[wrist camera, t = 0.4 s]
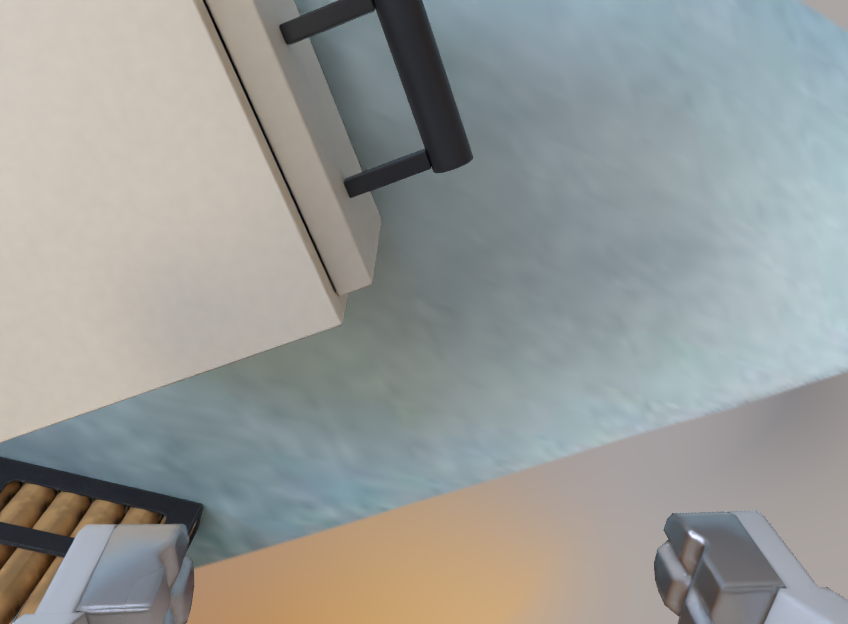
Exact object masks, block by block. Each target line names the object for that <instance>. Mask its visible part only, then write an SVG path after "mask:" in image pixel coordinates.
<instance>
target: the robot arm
mask: <svg viewBox="0 0 848 624" xmlns="http://www.w3.org/2000/svg"><path fill="white" fill-rule="evenodd" d="M664 532H665V534H666V535H667V537H668V540H667V541H666V542H665V543H664V544H663V545H662V546H660V547H659V548H658V550H657V554H656V558H655V561H654V570H655V581H656V584H657V588H658V591H659V594H660V596H661V598H662V600H663V602H664V604H665V606H666V607H668V608H669V609H670V610H671V611H673V612H674V613H675V614H677V615H678V616H679V620H678V624H848V600H847V599H845V598H844V597H842V596H840V595H839V594H837V593H836V592H834V591H833V590H831V589H829V588H828V587H818V586H817V584H816V583H815V582H814V580H813V579H812V578H811V576H810V575H809V574H808V573H807V571H806V570H805V569H804V567H803V566H802V565H801V563H800V562H799V561H798V560H797V558H796V557H795V556H794V554H793V553H792V552H791V550H790V549H789V548H788V547H787V545H786V544H785V543H784V541H783V540H782V539H781V537H780V536H779V535H778V534H777V532H776V531H775V529H774V528H773V527H772V526H771V524H770V523H769V522H768V520H767V519H766V518H765V517H764V516H763V515H762V514H761V513H759V512H757V511H733V512H700V513H672V514H671V516H670V517H669V518H668V519H667V521H666V524H665V527H664ZM188 543H189V537H188V532H187V527H186V526H185V525H183V524H119V525H118V524H87V525H85V526H84V527H83V528H82V529H81V530H80V531H79V532H78V533H77V535H76V537H75V539H74V541H73V543H72V545H71V546H70V548H69V550H68V552H67V554H66V556H65V558H64V559H63V561H62V563H61V565H60V567H59V569H58V571H57V573H56V574H55V576H54V578H53V580H52V582H51V584H50V586H49V587H48V589H47V591H46V593H45V595H44V597H43V599H42V601H41V602H40V604H39V606H38V608H37V610H36V612H35V614H24V615H22V616H21V617H20V618H18V619H17V620H16V621H14V622H13V623H12V624H186V623H187V620H188V617H189V613H190V609H191V605H192V598H193V591H194V569H193V562H192V560H191V559H190V558H188V557H187V556H186V555H185V553H186V550H187V547H188Z"/></svg>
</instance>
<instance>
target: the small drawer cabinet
mask: <svg viewBox="0 0 848 624" xmlns="http://www.w3.org/2000/svg"><path fill="white" fill-rule="evenodd" d="M204 4H207V3H206V1H205V0H0V443H1V442H4V441H7V440H10V439H13V438H16V437H18V436H21V435H24V434H27V433H30V432H33V431H36V430H39V429H42V428H44V427H47V426H50V425H53V424H56V423H59V422H62V421H65V420H68V419H71V418H73V417H76V416H79V415H82V414H85V413H88V412H91V411H94V410H97V409H100V408H102V407H105V406H108V405H111V404H114V403H117V402H120V401H123V400H126V399H128V398H131V397H134V396H137V395H140V394H143V393H146V392H149V391H152V390H155V389H157V388H160V387H163V386H166V385H169V384H172V383H175V382H178V381H181V380H184V379H186V378H189V377H192V376H195V375H198V374H201V373H204V372H207V371H210V370H212V369H215V368H218V367H221V366H224V365H227V364H230V363H233V362H236V361H239V360H241V359H244V358H247V357H250V356H253V355H256V354H259V353H262V352H265V351H268V350H270V349H273V348H276V347H279V346H282V345H285V344H288V343H291V342H294V341H296V340H299V339H302V338H305V337H308V336H311V335H314V334H317V333H320V332H323V331H325V330H328V329H331V328H334V327H337V326H340V325H342V323H343V319H344V314H345V310H346V305H347V301H348V297H349V293H347V294H344V295H342V296H339V295H338V294H337V292H336V290H335V288H334V285H333V283H332V281H331V279H330V276H329V274H328V272H327V270H326V268H325V265H324V263H323V261H322V259H321V256H320V254H319V252H318V250H317V248H316V245H315V243H314V242H313V244H312V242H311V239H310V237H309V235H308V233H307V231H306V228H305V226H304V224H303V222H302V219H301V217H300V215H299V213H298V211H297V208H296V206H295V204H294V202H293V199H292V197H291V195H290V193H289V191H288V188H287V186H286V184H285V182H284V180H283V177H282V175H281V173H280V171H279V168H278V166H277V164H276V162H275V160H274V157H273V155H272V153H271V151H270V149H269V146H268V144H267V142H266V140H265V137H264V135H263V133H262V131H261V129H260V126H259V124H258V122H257V120H256V118H255V115H254V113H253V111H252V109H251V106H250V104H249V102H248V100H247V98H246V95H245V93H244V91H243V89H242V87H241V84H240V82H239V80H238V78H237V75H236V73H235V71H234V69H233V67H232V64H231V62H230V60H229V58H228V56H227V53H226V51H225V49H224V47H223V44H222V42H221V40H220V38H219V36H218V33H217V31H216V29H215V27H214V25H213V22H212V20H211V18H210V16H209V13H208V11H207V9H206V7H205V5H204Z"/></svg>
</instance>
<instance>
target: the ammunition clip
mask: <svg viewBox="0 0 848 624" xmlns="http://www.w3.org/2000/svg"><path fill="white" fill-rule="evenodd" d="M202 509H203V506H202V504H199V503H195V502H191V501H186V500H182V499H178V498H174V497H169V496H165V495H161V494H156V493H152V492H148V491H144V490H139V489H135V488H131V487H126V486H122V485H118V484H114V483H109V482H105V481H101V480H97V479H92V478H88V477H84V476H79V475H75V474H71V473H67V472H62V471H58V470H54V469H49V468H45V467H41V466H37V465H32V464H28V463H24V462H20V461H15V460H11V459H7V458H2V457H0V624H9V623H10V622H11V621H12V620H13V618H14V617H15V616H16V615H17V613H18V612H19V610H20V609H21V608H22V609H21V611H20V613H19V615H18V617H17V619H18V618H20V617H21V616H22V615H24V614H35V612H36V610H37V608H38V606H39V604H40V602H41V601H42V599H43V597H44V595H45V593H46V591H47V589H48V587H49V586H50V584H51V582H52V580H53V578H54V576H55V574H56V573H57V571H58V569H59V567H60V565H61V563H62V561H63V559H64V558H65V556H66V554H67V552H68V550H69V548H70V546H71V545H72V543H73V541H74V539H75V537H76V535H77V533H78V532H79V531H80V530H81V529H82V528H83V527H84V526H85V525H87V524H118V525H119V524H183V525H185V526H186V527H187V532H188V537H189V543H188V547H187V550H188V548H189V546H190V544H191V542H192V540H193V538H194V536H195V534H196V532H197V530H198V526H199V522H200V517H201V513H202ZM187 550H186V552H187ZM185 554H186V553H185ZM39 581H40V582H39ZM37 584H38V585H37ZM35 587H36V588H35ZM33 590H34V591H33ZM31 593H32V594H31ZM30 594H31V595H30ZM29 596H30V597H29ZM28 597H29V598H28ZM27 599H28V600H27ZM26 600H27V601H26ZM25 602H26V603H25ZM24 603H25V604H24ZM23 605H24V606H23ZM22 606H23V607H22Z"/></svg>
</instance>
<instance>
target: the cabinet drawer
mask: <svg viewBox="0 0 848 624" xmlns="http://www.w3.org/2000/svg"><path fill="white" fill-rule="evenodd" d="M205 1H206V3H207V4H204V5H205V7H206V9H207V11H208V13H209V16H210V18H211V20H212V22H213V25H214V27H215V29H216V31H217V33H218V36H219V38H220V40H221V42H222V44H223V47H224V49H225V51H226V53H227V56H228V58H229V60H230V62H231V64H232V67H233V69H234V71H235V73H236V75H237V78H238V80H239V82H240V84H241V87H242V89H243V91H244V93H245V95H246V98H247V100H248V102H249V104H250V106H251V109H252V111H253V113H254V115H255V118H256V120H257V122H258V124H259V126H260V129H261V131H262V133H263V135H264V137H265V140H266V142H267V144H268V146H269V149H270V151H271V153H272V155H273V157H274V160H275V162H276V164H277V166H278V168H279V171H280V173H281V175H282V177H283V180H284V182H285V184H286V186H287V188H288V191H289V193H290V195H291V197H292V199H293V202H294V204H295V206H296V208H297V211H298V213H299V215H300V217H301V219H302V222H303V224H304V226H305V228H306V231H307V233H308V235H309V237H310V239H311V242H312V244H313V242H314V243H315V245H316V248H317V250H318V252H319V254H320V256H321V259H322V261H323V263H324V265H325V268H326V270H327V272H328V274H329V276H330V279H331V281H332V283H333V285H334V288H335V290H336V292H337V294H338V295H339V296H342V295H344V294H347V293H350V292H353V291H356V290H359V289H362V288H364V287H367V286H370V285H372V284H373V277H374V270H375V263H376V256H377V249H378V242H379V235H380V228H381V221H382V219H381V217H380V214H379V212H378V209H377V207H376V204H375V202H374V199H373V197H372V194H371V192H370V191H372V190H375V189H377V188H380V187H383V186H385V185H388V184H391V183H393V182H396V181H399V180H402V179H404V178H407V177H410V176H412V175H415V174H418V173H421V172H423V171H426V170H429V169H431V167H432V170H433V172H434V173H442V172H447V171H450V170H453V169H456V168H458V167H461V166H463V165H465V164H467V163H468V162H470V161H471V160H472V159H473V155H472V152H471V149H470V146H469V143H468V140H467V136H466V133H465V130H464V127H463V124H462V121H461V118H460V115H459V112H458V109H457V106H456V103H455V100H454V97H453V93H452V90H451V87H450V84H449V81H448V78H447V75H446V72H445V69H444V66H443V63H442V60H441V57H440V54H439V50H438V47H437V44H436V41H435V38H434V35H433V32H432V29H431V26H430V23H429V20H428V17H427V14H426V11H425V7H424V4H423V1H422V0H339V1H336V2H334V3H331V4H329V5H326V6H324V7H321V8H319V9H316V10H314V11H312V12H309V13H307V14H304V15H302V16H300V14H299V11H298V9H297V6H296V4H295V1H294V0H205ZM375 8H376V11H377V14H378V17H379V20H380V23H381V25H382V28H383V31H384V34H385V37H386V40H387V42H388V45H389V48H390V51H391V54H392V56H393V59H394V62H395V65H396V68H397V71H398V73H399V76H400V79H401V82H402V85H403V88H404V90H405V93H406V96H407V99H408V102H409V105H410V107H411V110H412V113H413V116H414V119H415V121H416V124H417V127H418V130H419V133H420V136H421V138H422V141H423V144H424V147H425V149H423V150H420V151H417V152H415V153H412V154H409V155H407V156H404V157H401V158H398V159H396V160H393V161H390V162H388V163H385V164H382V165H380V166H377V167H374V168H372V169H369V170H366V171H364V172H362V169H361V167H360V164H359V162H358V159H357V157H356V154H355V152H354V149H353V147H352V144H351V142H350V139H349V137H348V134H347V132H346V129H345V127H344V124H343V122H342V119H341V117H340V114H339V112H338V109H337V107H336V104H335V102H334V99H333V97H332V94H331V91H330V89H329V86H328V84H327V81H326V79H325V76H324V74H323V71H322V69H321V66H320V64H319V61H318V59H317V56H316V54H315V51H314V49H313V46H312V44H311V41H310V39H309V37H311V36H314V35H316V34H319V33H321V32H324V31H326V30H329V29H331V28H334V27H336V26H339V25H341V24H344V23H346V22H349V21H351V20H354V19H356V18H358V17H361V16H363V15H366V14H368V13H371V12H373V11H375Z"/></svg>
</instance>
